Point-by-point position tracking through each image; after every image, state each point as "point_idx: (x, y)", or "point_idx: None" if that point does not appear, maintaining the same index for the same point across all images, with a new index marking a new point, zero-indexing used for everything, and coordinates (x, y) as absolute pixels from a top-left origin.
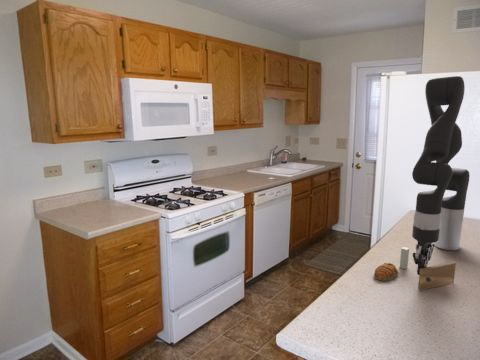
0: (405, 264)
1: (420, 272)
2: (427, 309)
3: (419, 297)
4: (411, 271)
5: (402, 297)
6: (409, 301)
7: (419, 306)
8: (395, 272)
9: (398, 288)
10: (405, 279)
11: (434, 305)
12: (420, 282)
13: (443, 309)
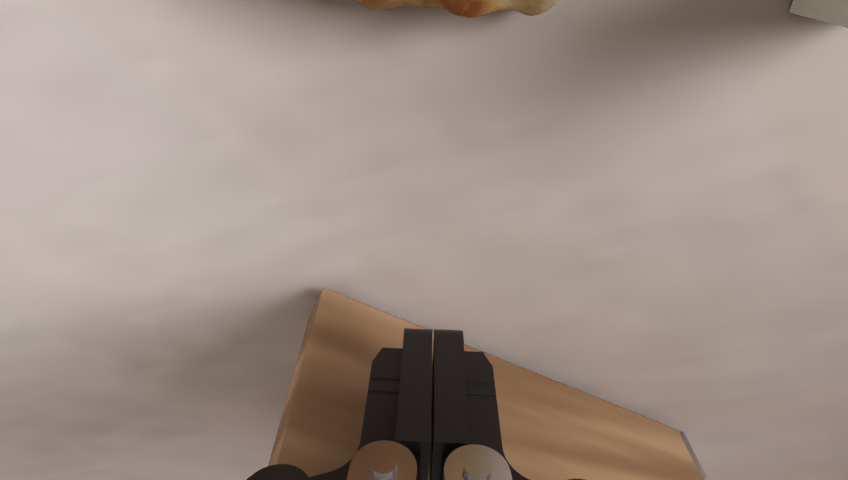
0: (837, 22)
1: (280, 443)
2: (63, 412)
3: (192, 329)
4: (761, 97)
5: (48, 228)
6: (42, 293)
7: (47, 366)
8: (440, 3)
9: (189, 134)
10: (475, 117)
11: (169, 429)
12: (300, 358)
13: (170, 474)
